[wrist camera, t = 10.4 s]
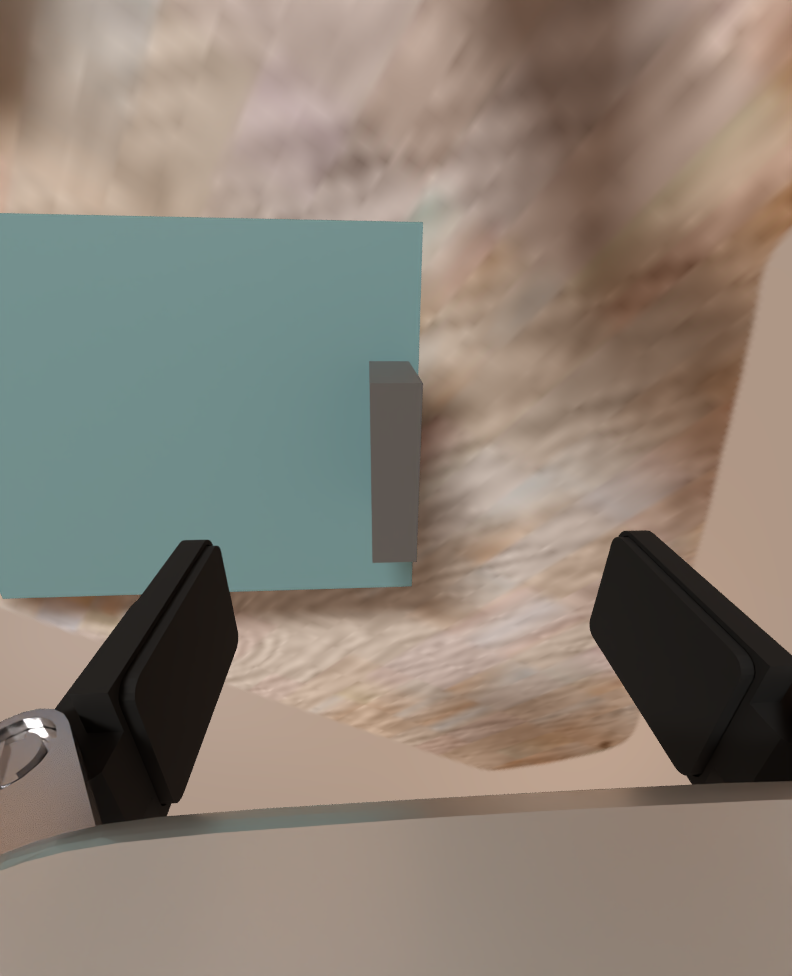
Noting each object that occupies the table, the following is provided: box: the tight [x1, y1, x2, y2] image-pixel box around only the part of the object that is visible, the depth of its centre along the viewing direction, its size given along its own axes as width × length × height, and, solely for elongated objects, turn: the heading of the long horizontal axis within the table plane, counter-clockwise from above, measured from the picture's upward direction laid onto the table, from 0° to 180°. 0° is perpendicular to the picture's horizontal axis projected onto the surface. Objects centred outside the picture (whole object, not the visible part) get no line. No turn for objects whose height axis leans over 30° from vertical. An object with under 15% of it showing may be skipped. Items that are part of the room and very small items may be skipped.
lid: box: [0, 213, 423, 599], centre depth 20 cm, size 25×20×7 cm
